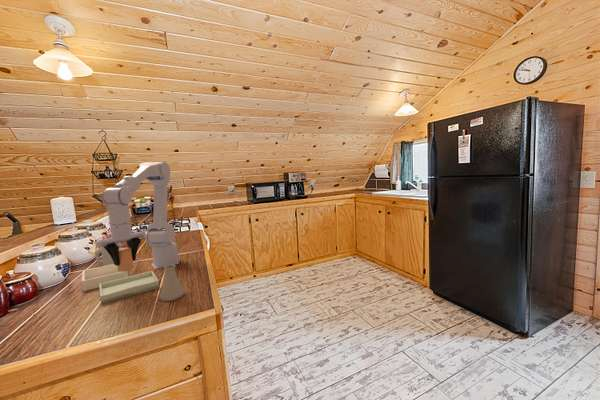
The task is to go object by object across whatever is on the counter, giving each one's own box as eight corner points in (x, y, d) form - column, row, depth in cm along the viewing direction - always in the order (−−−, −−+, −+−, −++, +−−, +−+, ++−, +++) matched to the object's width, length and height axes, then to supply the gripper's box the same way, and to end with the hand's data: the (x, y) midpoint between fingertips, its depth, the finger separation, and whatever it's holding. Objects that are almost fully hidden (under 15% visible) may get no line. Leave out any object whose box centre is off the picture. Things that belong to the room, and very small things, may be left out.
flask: (190, 292, 85) (187, 263, 83) (172, 303, 78) (169, 271, 77) (172, 289, 87) (169, 261, 86) (154, 300, 80) (151, 269, 79)
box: (125, 271, 105) (124, 261, 105) (128, 281, 95) (127, 270, 95) (84, 280, 97) (82, 270, 97) (83, 292, 87) (81, 281, 87)
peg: (129, 266, 91) (126, 246, 90) (136, 267, 89) (133, 248, 88) (115, 270, 87) (112, 250, 86) (122, 272, 85) (119, 252, 84)
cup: (119, 266, 111) (117, 246, 110) (92, 270, 108) (89, 249, 107) (125, 261, 118) (123, 242, 117) (100, 264, 115) (97, 244, 114)
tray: (152, 277, 98) (152, 270, 98) (159, 287, 89) (158, 280, 89) (100, 290, 88) (99, 283, 88) (101, 304, 79) (100, 296, 79)
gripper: (136, 218, 94) (140, 254, 96) (88, 226, 82) (94, 267, 84) (147, 219, 91) (151, 257, 92) (99, 228, 78) (104, 271, 80)
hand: (125, 262), depth 88 cm, fingers closed on peg, 4 cm apart
